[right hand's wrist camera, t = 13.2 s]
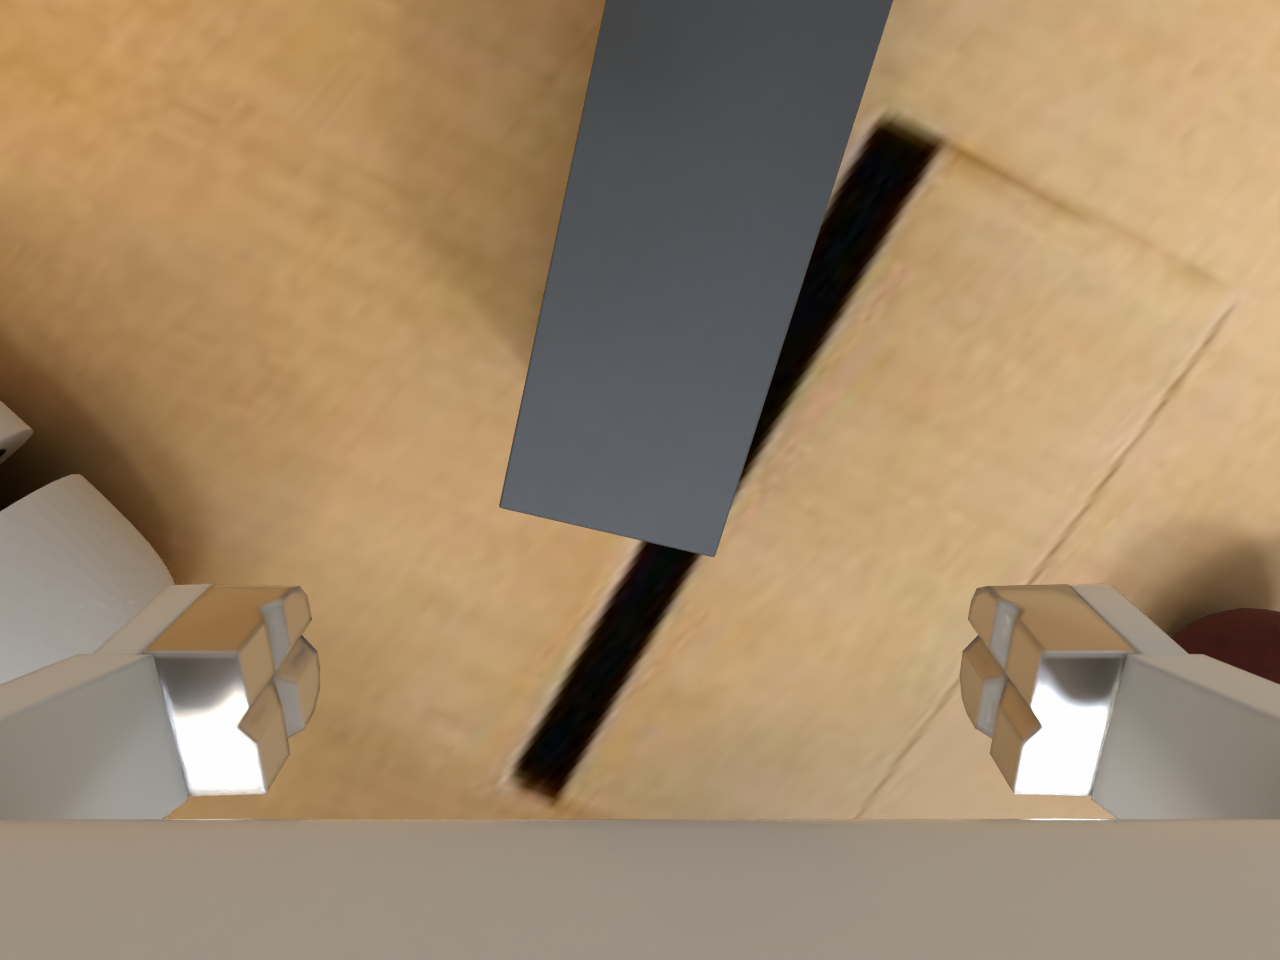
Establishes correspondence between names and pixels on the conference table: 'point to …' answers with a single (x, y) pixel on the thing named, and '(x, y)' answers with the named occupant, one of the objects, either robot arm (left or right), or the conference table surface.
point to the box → (683, 256)
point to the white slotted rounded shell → (66, 568)
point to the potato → (1237, 640)
